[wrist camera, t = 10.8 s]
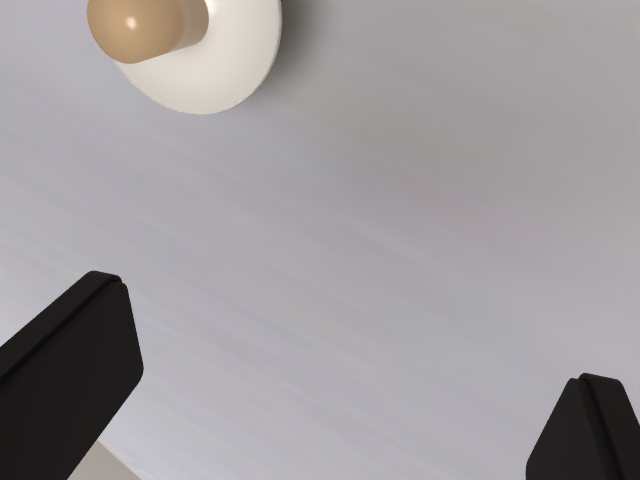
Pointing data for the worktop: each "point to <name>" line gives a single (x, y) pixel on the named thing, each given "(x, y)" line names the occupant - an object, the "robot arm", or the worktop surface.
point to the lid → (190, 47)
